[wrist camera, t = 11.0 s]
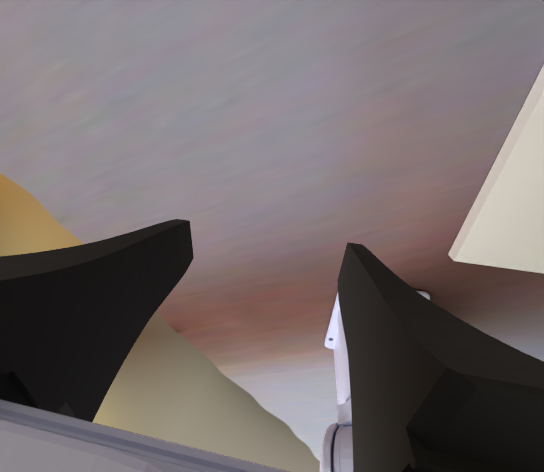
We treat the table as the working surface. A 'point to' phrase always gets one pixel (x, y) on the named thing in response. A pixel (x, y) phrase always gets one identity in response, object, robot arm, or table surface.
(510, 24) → the table surface
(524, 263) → the mounting plate
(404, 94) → the table surface
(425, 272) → the table surface
